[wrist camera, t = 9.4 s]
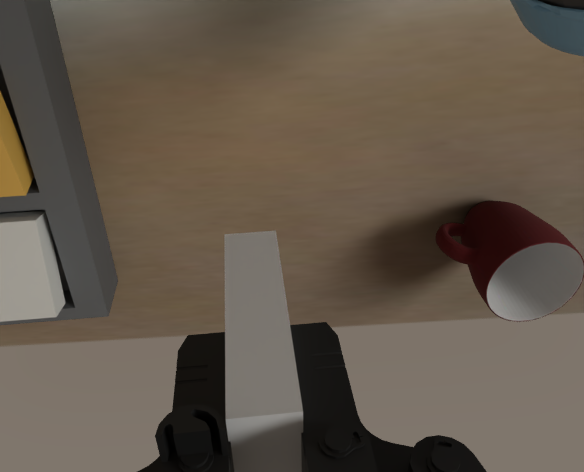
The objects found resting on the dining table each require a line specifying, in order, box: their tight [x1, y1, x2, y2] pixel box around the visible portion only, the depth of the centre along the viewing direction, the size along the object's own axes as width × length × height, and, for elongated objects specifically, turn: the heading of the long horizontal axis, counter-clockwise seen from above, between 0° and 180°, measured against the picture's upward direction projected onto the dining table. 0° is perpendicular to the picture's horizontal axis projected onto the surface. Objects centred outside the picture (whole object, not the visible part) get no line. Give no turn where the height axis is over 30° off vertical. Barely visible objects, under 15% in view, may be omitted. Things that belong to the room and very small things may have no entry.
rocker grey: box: [0, 211, 65, 322], centre depth 42 cm, size 8×5×2 cm, turn 1°
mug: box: [436, 201, 584, 322], centre depth 47 cm, size 11×8×10 cm
